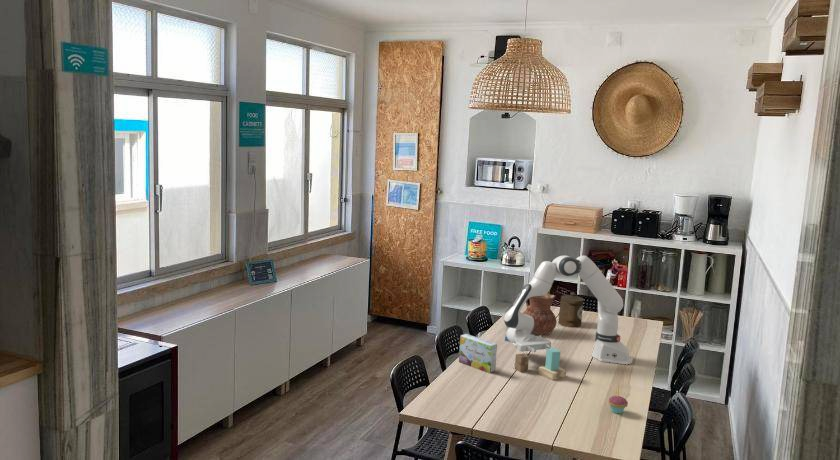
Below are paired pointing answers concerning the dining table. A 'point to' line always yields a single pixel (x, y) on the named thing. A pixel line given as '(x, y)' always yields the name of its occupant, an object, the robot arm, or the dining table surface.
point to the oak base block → (552, 373)
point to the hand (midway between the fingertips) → (542, 349)
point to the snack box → (478, 353)
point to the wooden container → (570, 310)
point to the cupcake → (617, 403)
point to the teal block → (552, 359)
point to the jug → (541, 313)
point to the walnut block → (521, 362)
